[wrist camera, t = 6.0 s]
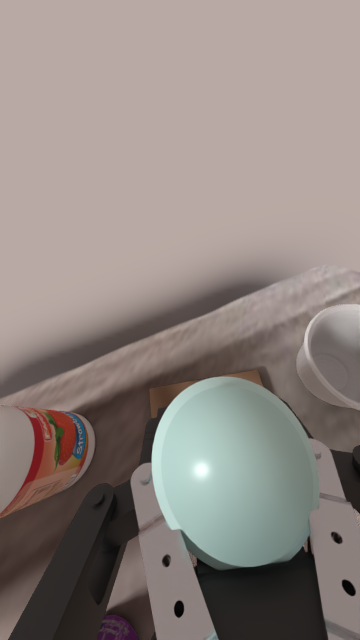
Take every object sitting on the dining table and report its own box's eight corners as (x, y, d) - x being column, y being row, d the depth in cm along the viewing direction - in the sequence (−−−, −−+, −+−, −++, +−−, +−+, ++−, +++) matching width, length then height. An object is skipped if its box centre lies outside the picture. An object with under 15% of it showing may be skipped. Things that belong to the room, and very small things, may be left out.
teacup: (382, 459, 25) (479, 477, 16) (263, 386, 30) (286, 369, 21) (405, 374, 28) (494, 351, 20) (296, 323, 34) (328, 286, 25)
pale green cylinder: (188, 489, 15) (151, 610, 5) (178, 407, 17) (141, 384, 8) (264, 478, 14) (377, 582, 5) (242, 397, 17) (288, 360, 7)
